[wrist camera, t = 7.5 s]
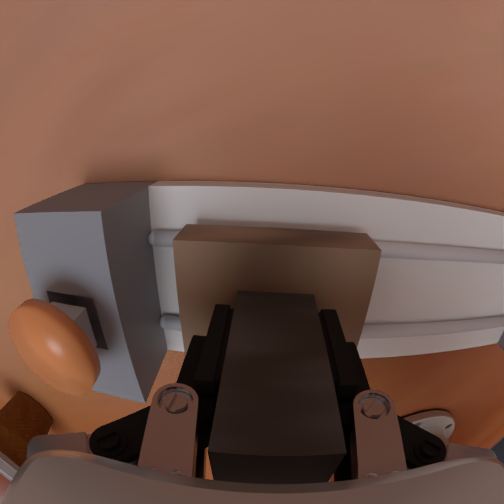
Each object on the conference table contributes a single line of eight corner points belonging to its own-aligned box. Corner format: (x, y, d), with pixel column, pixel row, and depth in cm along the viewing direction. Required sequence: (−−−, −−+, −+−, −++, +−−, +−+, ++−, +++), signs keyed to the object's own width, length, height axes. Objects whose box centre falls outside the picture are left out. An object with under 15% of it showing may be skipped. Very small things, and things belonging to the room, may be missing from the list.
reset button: (103, 285, 10) (70, 320, 8) (125, 368, 12) (106, 406, 10) (27, 274, 10) (-5, 301, 8) (54, 350, 12) (32, 380, 10)
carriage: (366, 233, 12) (478, 381, 4) (340, 353, 15) (372, 502, 7) (186, 223, 13) (73, 371, 4) (195, 346, 15) (151, 495, 7)
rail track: (540, 220, 14) (590, 250, 8) (502, 330, 17) (536, 373, 12) (83, 184, 15) (13, 213, 9) (108, 325, 19) (69, 383, 13)
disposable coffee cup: (69, 422, 26) (34, 493, 15) (55, 435, 29) (26, 492, 18) (11, 373, 24) (-35, 437, 13) (6, 394, 27) (-30, 447, 16)
